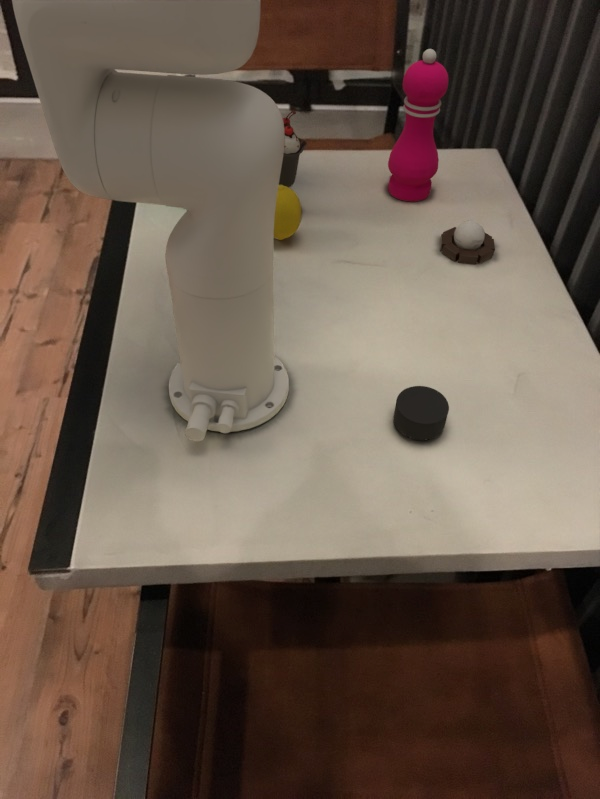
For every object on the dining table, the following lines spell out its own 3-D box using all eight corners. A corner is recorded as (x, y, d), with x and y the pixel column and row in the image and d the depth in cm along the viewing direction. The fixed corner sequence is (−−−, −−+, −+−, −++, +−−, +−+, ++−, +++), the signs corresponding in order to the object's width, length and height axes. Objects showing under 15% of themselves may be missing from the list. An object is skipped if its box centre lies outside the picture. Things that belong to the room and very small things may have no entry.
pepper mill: (432, 180, 105) (457, 41, 90) (434, 205, 100) (460, 61, 85) (385, 177, 105) (402, 37, 91) (384, 201, 100) (402, 58, 86)
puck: (444, 446, 68) (449, 426, 66) (391, 440, 68) (395, 420, 66) (443, 408, 71) (448, 388, 69) (393, 403, 72) (397, 383, 70)
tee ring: (494, 266, 89) (496, 258, 89) (440, 261, 90) (441, 253, 89) (490, 236, 94) (492, 229, 93) (439, 232, 95) (441, 224, 94)
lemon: (296, 253, 90) (297, 199, 85) (255, 248, 91) (254, 193, 85) (304, 231, 94) (306, 177, 88) (265, 226, 95) (264, 172, 89)
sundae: (304, 225, 95) (307, 118, 84) (255, 223, 95) (253, 116, 84) (304, 200, 100) (308, 96, 89) (258, 199, 100) (256, 94, 89)
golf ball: (460, 236, 94) (466, 211, 91) (486, 247, 92) (493, 221, 89) (445, 249, 92) (451, 223, 89) (471, 260, 90) (478, 234, 87)
